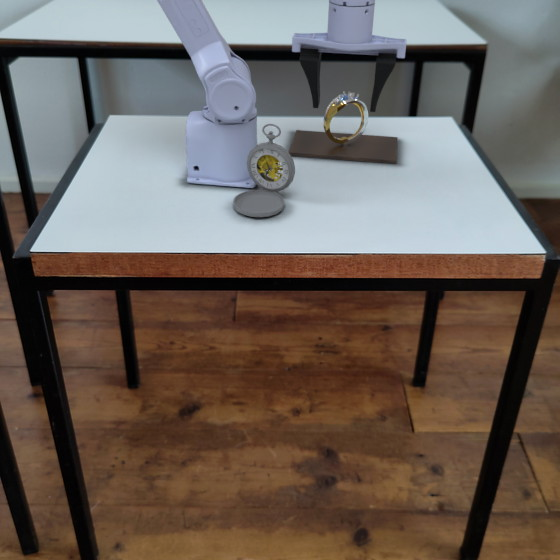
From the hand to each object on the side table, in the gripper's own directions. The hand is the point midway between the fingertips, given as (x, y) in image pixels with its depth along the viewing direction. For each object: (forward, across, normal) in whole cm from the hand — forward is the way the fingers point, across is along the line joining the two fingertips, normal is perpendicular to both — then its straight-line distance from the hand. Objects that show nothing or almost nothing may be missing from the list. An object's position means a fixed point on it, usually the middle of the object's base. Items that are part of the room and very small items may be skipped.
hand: (344, 107), depth 94 cm
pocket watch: (+10, +9, +12) cm, 18 cm away
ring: (+9, 0, -8) cm, 12 cm away
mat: (+9, 0, -8) cm, 13 cm away
